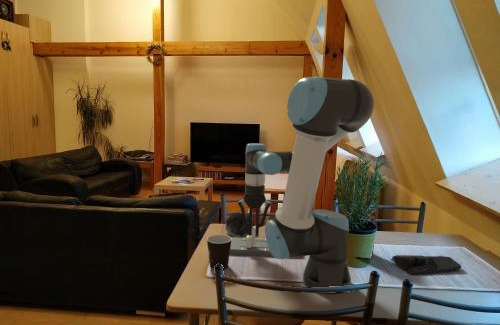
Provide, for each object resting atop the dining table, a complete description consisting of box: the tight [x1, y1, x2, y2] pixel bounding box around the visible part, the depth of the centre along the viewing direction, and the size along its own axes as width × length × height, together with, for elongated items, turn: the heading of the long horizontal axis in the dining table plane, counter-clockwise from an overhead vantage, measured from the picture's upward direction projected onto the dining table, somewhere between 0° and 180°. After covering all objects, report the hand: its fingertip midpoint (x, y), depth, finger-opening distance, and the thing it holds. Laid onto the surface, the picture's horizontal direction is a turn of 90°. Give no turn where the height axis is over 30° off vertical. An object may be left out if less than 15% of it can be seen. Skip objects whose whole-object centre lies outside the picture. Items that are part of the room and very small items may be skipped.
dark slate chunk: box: [390, 254, 462, 276], centre depth 127 cm, size 15×22×5 cm
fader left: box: [245, 235, 252, 248], centre depth 136 cm, size 3×2×4 cm, turn 177°
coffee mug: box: [206, 234, 232, 270], centre depth 124 cm, size 12×9×10 cm
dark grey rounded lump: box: [225, 211, 256, 238], centre depth 158 cm, size 13×14×10 cm
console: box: [230, 236, 303, 258], centre depth 139 cm, size 14×28×2 cm, turn 87°
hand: (253, 243), depth 136 cm, fingers closed
